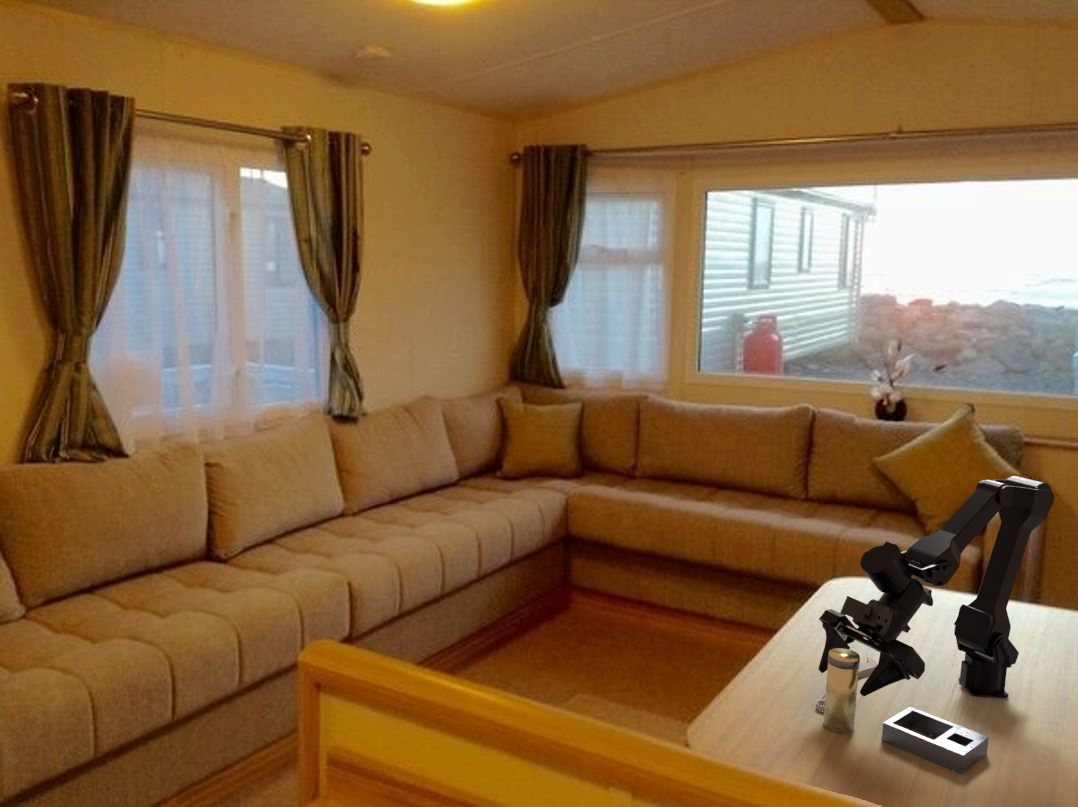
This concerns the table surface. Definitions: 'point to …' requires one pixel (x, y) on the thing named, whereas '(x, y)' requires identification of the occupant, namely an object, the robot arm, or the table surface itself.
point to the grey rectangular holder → (949, 747)
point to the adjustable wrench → (863, 670)
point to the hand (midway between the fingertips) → (840, 682)
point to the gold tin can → (841, 690)
